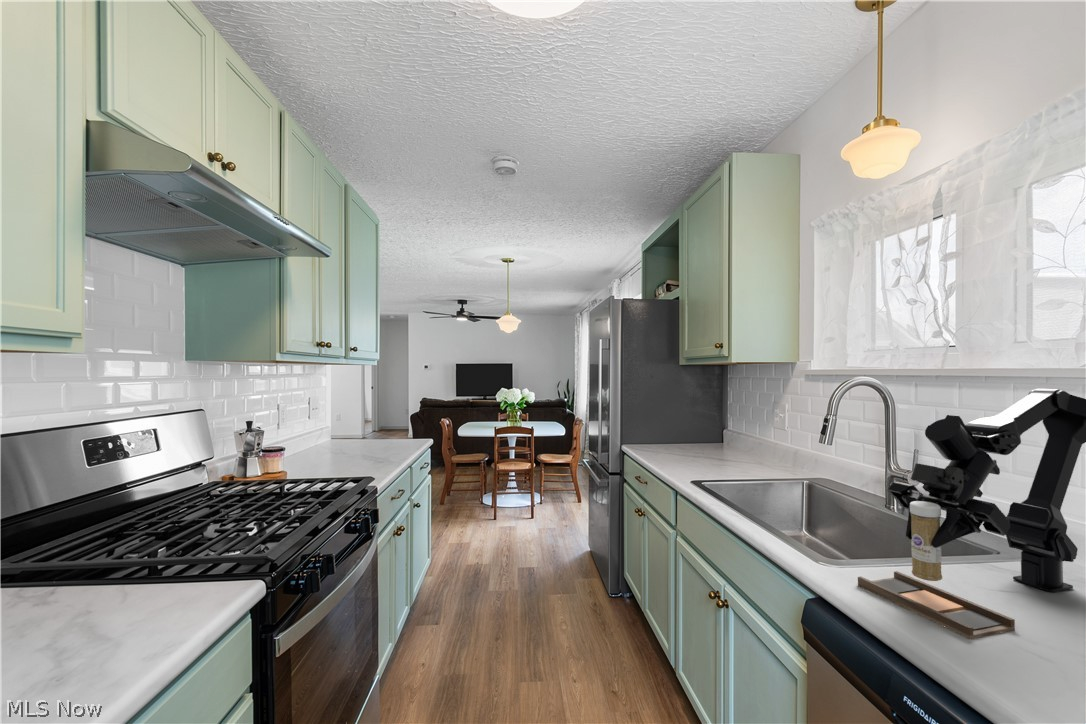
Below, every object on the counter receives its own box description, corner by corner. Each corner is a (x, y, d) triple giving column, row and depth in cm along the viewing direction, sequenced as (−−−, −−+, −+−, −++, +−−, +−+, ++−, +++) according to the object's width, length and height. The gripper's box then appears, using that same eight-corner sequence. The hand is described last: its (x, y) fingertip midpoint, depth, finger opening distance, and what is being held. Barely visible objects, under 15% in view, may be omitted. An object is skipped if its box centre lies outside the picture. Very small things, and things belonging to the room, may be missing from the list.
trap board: (897, 579, 104) (896, 571, 104) (1014, 629, 84) (1014, 619, 84) (857, 585, 102) (857, 576, 102) (969, 638, 82) (969, 628, 82)
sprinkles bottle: (907, 575, 94) (904, 502, 94) (919, 570, 96) (917, 499, 96) (935, 584, 90) (933, 508, 90) (947, 578, 92) (945, 504, 92)
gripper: (893, 441, 103) (850, 500, 100) (995, 456, 85) (948, 529, 82) (924, 477, 105) (883, 536, 102) (1030, 499, 87) (985, 571, 84)
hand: (920, 541), depth 93 cm, fingers closed on sprinkles bottle, 4 cm apart
